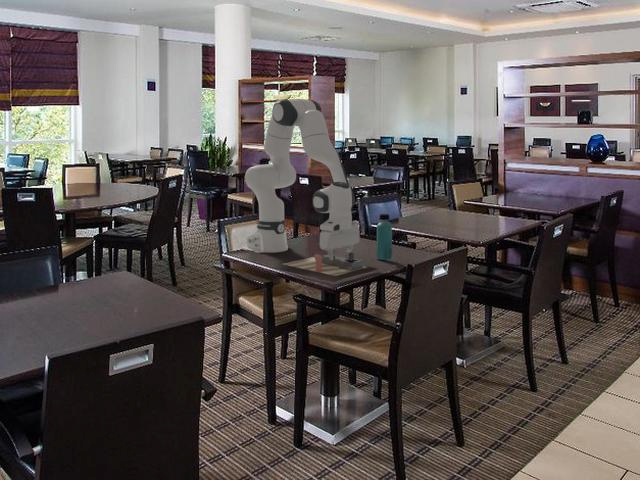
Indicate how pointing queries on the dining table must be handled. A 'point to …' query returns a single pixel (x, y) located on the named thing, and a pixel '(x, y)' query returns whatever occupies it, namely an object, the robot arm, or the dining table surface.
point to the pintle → (351, 257)
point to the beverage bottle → (384, 238)
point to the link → (343, 263)
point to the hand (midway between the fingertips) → (340, 258)
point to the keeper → (318, 262)
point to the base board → (326, 269)
